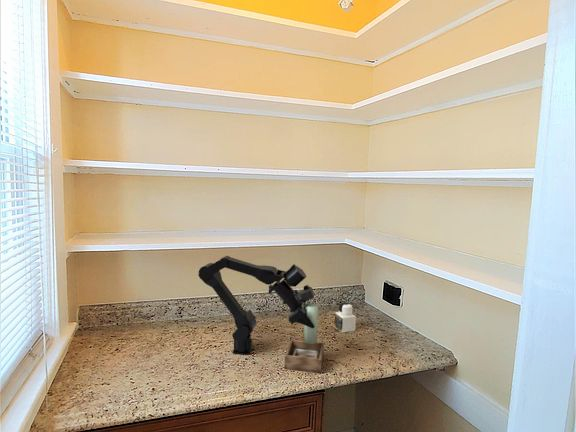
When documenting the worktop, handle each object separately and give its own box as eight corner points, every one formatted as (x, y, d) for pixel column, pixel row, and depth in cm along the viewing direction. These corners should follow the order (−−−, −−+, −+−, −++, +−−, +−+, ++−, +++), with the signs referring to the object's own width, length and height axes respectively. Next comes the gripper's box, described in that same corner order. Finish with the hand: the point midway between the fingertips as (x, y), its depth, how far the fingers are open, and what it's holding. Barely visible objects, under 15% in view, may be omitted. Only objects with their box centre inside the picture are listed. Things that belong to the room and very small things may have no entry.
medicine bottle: (334, 326, 164) (335, 302, 163) (347, 324, 166) (348, 300, 165) (341, 333, 157) (342, 307, 156) (355, 331, 160) (356, 305, 159)
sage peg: (301, 341, 133) (302, 306, 131) (307, 336, 137) (309, 302, 136) (313, 345, 130) (314, 308, 129) (319, 340, 135) (320, 305, 133)
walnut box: (284, 369, 126) (284, 355, 126) (290, 351, 139) (290, 339, 139) (320, 373, 124) (321, 359, 123) (323, 355, 137) (323, 343, 136)
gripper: (298, 288, 123) (328, 321, 122) (305, 274, 141) (331, 303, 140) (276, 307, 125) (305, 340, 124) (286, 291, 143) (311, 320, 143)
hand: (314, 324), depth 133 cm, fingers closed on sage peg, 5 cm apart
